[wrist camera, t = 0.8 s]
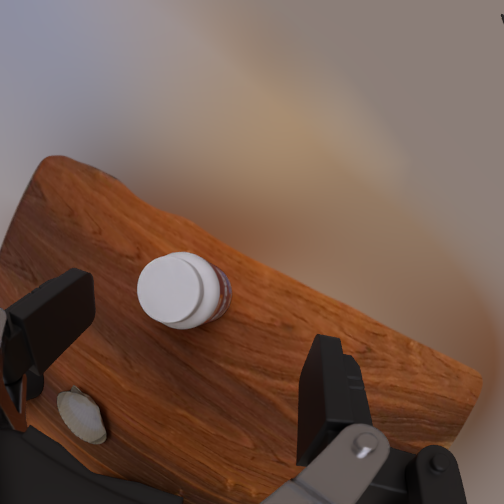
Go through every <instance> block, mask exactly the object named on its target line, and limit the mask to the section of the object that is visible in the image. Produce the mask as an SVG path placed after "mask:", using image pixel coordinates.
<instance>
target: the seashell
mask: <svg viewBox="0 0 504 504" xmlns="http://www.w3.org/2000/svg"><path fill="white" fill-rule="evenodd" d="M57 407H58V410H59V412H60V415H61V416H62V419H63V420H64V422H65V424H66V425H67V427H68V428H69V429H71V431H72V432H73V433H75V435H76V436H78V437H79V438H80V439H83V440H84V441H86V442H89V443H92V444H101V443H103V442H104V441H105V439H106V430H105V427H104V423H103V420H102V417H101V415H100V409H99V407H98V405H97V404H96V403H95V402H94V400H93V399H92V398H91V397H90V396H89V395H87V394H84V393H82V392H81V391H80V390H79V389H78V388H77V387H76V386H73V387H72V388H71V391H66V392H60V393H59V395H58V396H57Z"/></svg>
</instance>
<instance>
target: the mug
mask: <svg viewBox="0 0 504 504" xmlns="http://www.w3.org/2000/svg"><path fill="white" fill-rule="evenodd" d="M25 374H26V377H27V389H26V400H29V399H32V398H35V397H37V396H39V395H40V393H41V392H42V389H43V384H44V378H43V374H42V375H41V376H38V375H37V374H35V373H33V372H32V371H30V370H28V371H27V372H26V373H25Z"/></svg>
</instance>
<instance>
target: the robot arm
mask: <svg viewBox="0 0 504 504" xmlns="http://www.w3.org/2000/svg"><path fill="white" fill-rule="evenodd" d="M501 17H502V20H503V23H504V15H503V14H501ZM94 317H95V297H94V281H93V276H92V274H91V273H88V272H85V271H82V270H79V269H77V268H72V269H70V270H68V271H67V272H65V273H64V274H62V275H61V276H59V277H57V278H54V279H51V280H48V281H46V282H45V283H43V284H42V285H40V286H39V288H36V289H34V290H33V291H31V293H28V294H27V295H26V296H24V297H23V298H21V299H20V300H18V301H17V302H15V303H14V304H13V305H11V306H10V307H8V308H7V309H6V310H3V309H2V308H0V504H183V497H179V496H176V495H173V494H170V493H167V492H164V491H161V490H158V489H155V488H152V487H149V486H147V485H144V484H141V483H139V482H133V481H127V480H122V479H117V478H113V477H108V476H104V475H100V474H96V473H93V472H91V471H90V470H88V469H87V468H86V467H85V466H84V465H83V464H81V463H80V462H79V461H78V460H77V459H76V458H75V457H74V456H72V455H71V454H70V453H69V452H68V451H67V450H66V449H65V448H64V447H63V446H62V445H61V444H59V443H58V442H56V441H54V440H53V439H51V438H50V437H48V436H47V435H45V434H43V433H42V432H40V431H39V430H37V429H36V428H34V427H33V426H32V425H30V426H29V427H27V422H26V389H27V377H26V374H25V373H26V372H27V371H28V370H30V371H32V372H33V373H35V374H37V375H38V376H41V375H42V374H43V373H44V372H45V371H46V370H47V369H48V368H49V366H50V365H51V364H52V363H53V362H54V361H55V360H56V359H57V358H58V357H59V356H60V355H61V354H62V353H63V352H64V351H65V350H66V349H67V348H68V347H69V346H70V345H71V344H72V343H73V342H74V341H75V340H76V339H77V338H78V337H79V336H80V335H81V334H82V333H83V332H84V331H85V330H86V329H87V328H88V327H89V326H90V325H91V324H92V322H93V320H94ZM364 388H365V387H364V383H363V381H362V374H361V370H360V366H359V365H358V364H357V362H356V361H355V360H354V358H353V357H352V356H351V355H346V354H343V351H342V346H341V341H340V338H336V337H331V336H326V335H320V334H317V335H316V336H315V338H314V341H313V343H312V346H311V349H310V351H309V354H308V356H307V359H306V361H305V364H304V366H303V369H302V372H301V375H300V380H299V402H298V437H297V460H296V466H306V468H305V469H304V470H303V471H302V472H301V473H300V474H298V475H297V476H296V477H295V478H291V479H290V480H288V481H287V482H286V483H284V484H283V485H282V486H281V487H280V488H278V489H277V490H276V491H275V492H274V493H272V494H271V495H270V496H269V497H267V498H266V499H265V500H264V501H262V502H261V503H260V504H467V502H466V497H465V492H464V488H463V484H462V479H461V476H460V472H459V468H458V464H457V461H456V459H455V457H454V456H453V454H452V453H451V452H450V451H449V450H447V449H446V448H444V447H442V446H438V445H430V446H426V447H425V448H423V449H422V450H421V451H420V452H419V453H418V454H417V455H416V454H412V453H408V452H404V451H401V450H397V449H394V448H392V447H390V446H389V442H388V440H387V438H386V437H385V435H384V434H383V433H382V432H381V431H379V430H378V429H377V428H375V427H373V425H372V420H371V415H370V410H369V405H368V401H367V396H366V392H365V390H364Z"/></svg>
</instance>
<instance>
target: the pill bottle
mask: <svg viewBox="0 0 504 504" xmlns="http://www.w3.org/2000/svg"><path fill="white" fill-rule="evenodd" d="M137 292H138V298H139V302H140V304H141V306H142V308H143V309H144V311H145V312H146V313H147V314H148V315H149V316H150V317H151V318H153V319H155V320H157V321H159V322H161V323H163V324H165V325H166V326H169V327H171V328H175V329H190V328H194V327H197V326H200V325H203V324H206V323H209V322H212V321H214V320H216V319H218V318H219V317H220V316H222V315H223V314H224V313H225V311H226V310H227V309H228V307H229V305H230V302H231V297H232V289H231V285H230V282H229V280H228V278H227V276H226V275H225V273H224V272H223V271H222V270H221V269H219V268H218V267H216V266H215V265H213V264H211V263H210V262H208V261H206V260H205V259H203V258H201V257H199V256H197V255H195V254H192V253H187V252H176V253H171V254H168V255H166V256H163V257H159V258H157V259H155V260H153V261H151V262H150V263H149V264H148V265H147V266H146V267H145V268H144V269H143V271H142V273H141V275H140V277H139V280H138V285H137Z"/></svg>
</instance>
